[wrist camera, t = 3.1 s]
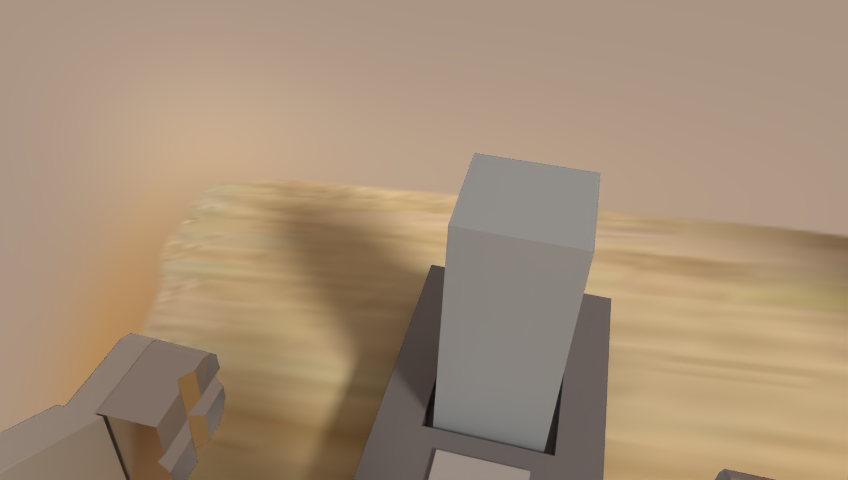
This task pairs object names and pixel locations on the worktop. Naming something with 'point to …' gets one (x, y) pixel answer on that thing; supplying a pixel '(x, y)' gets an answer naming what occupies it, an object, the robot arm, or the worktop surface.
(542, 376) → the grey rectangular block
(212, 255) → the worktop surface
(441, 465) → the power strip
